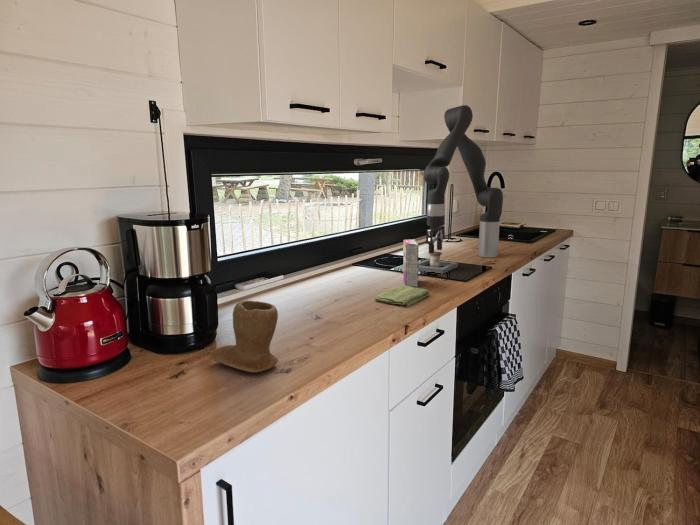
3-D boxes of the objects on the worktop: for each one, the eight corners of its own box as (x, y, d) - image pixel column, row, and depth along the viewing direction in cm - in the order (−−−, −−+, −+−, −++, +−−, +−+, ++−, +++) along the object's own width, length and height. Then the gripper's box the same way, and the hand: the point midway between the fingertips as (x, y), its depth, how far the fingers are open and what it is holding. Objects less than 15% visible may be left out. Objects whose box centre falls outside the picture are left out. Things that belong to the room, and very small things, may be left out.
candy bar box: (402, 280, 190) (402, 239, 186) (415, 280, 190) (415, 239, 186) (405, 287, 179) (405, 244, 176) (418, 287, 179) (419, 244, 175)
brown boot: (290, 362, 113) (288, 301, 110) (253, 381, 104) (249, 314, 100) (246, 349, 122) (243, 291, 119) (208, 365, 112) (203, 303, 109)
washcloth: (372, 302, 162) (372, 293, 161) (400, 291, 175) (400, 282, 175) (406, 309, 154) (406, 299, 153) (432, 296, 167) (432, 288, 167)
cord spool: (431, 266, 214) (432, 251, 212) (443, 267, 211) (443, 252, 209) (426, 268, 209) (426, 253, 208) (438, 270, 206) (438, 254, 205)
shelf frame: (426, 263, 220) (426, 259, 220) (458, 266, 212) (458, 262, 212) (410, 270, 207) (410, 265, 206) (442, 274, 198) (442, 269, 198)
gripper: (434, 212, 212) (434, 248, 216) (420, 215, 201) (420, 253, 204) (450, 212, 208) (449, 249, 212) (437, 216, 197) (436, 255, 200)
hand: (435, 251), depth 208 cm, fingers open, 8 cm apart
